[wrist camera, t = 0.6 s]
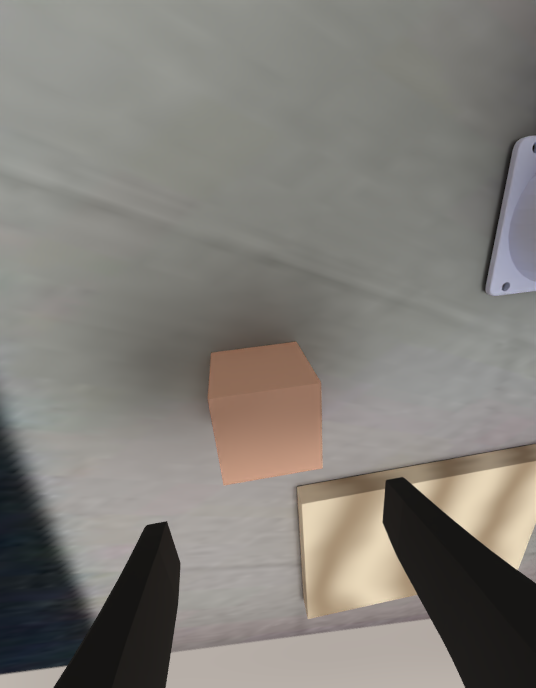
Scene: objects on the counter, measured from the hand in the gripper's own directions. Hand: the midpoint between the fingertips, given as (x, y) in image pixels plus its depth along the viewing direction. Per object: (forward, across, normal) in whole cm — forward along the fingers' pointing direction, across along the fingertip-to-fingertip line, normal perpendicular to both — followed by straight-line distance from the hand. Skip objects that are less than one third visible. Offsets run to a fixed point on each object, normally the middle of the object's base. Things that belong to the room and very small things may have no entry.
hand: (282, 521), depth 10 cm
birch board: (+9, -12, +16) cm, 22 cm away
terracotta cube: (+10, 0, 0) cm, 10 cm away
